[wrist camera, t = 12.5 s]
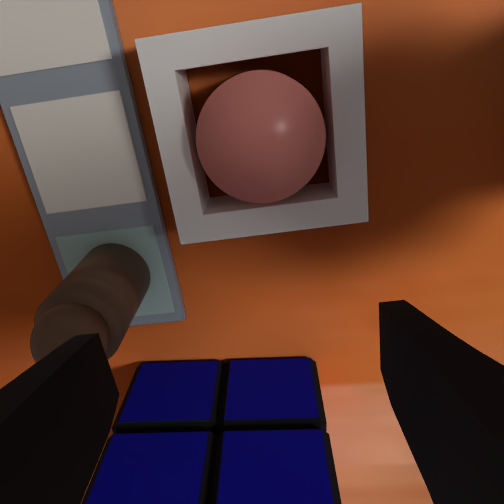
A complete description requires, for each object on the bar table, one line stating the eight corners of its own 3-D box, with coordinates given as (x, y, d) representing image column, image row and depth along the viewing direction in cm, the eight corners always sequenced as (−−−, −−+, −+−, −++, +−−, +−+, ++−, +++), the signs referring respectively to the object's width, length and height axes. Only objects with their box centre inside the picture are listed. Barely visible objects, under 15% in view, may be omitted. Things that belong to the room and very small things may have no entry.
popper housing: (348, 10, 17) (361, 2, 15) (356, 203, 20) (368, 221, 18) (151, 42, 18) (134, 39, 15) (189, 224, 21) (180, 244, 18)
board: (87, -104, 16) (80, -110, 15) (186, 314, 23) (184, 321, 22) (-57, -77, 16) (-68, -82, 16) (85, 325, 23) (80, 332, 23)
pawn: (141, 239, 20) (87, 317, 14) (157, 301, 22) (114, 397, 16) (73, 247, 21) (-9, 327, 14) (92, 307, 22) (25, 404, 16)
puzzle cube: (315, 353, 24) (348, 535, 15) (314, 479, 28) (340, 684, 19) (137, 359, 24) (60, 539, 15) (162, 482, 28) (114, 684, 19)
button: (311, 60, 17) (320, 60, 15) (320, 176, 19) (330, 194, 17) (196, 78, 18) (183, 81, 15) (216, 190, 20) (208, 210, 17)
